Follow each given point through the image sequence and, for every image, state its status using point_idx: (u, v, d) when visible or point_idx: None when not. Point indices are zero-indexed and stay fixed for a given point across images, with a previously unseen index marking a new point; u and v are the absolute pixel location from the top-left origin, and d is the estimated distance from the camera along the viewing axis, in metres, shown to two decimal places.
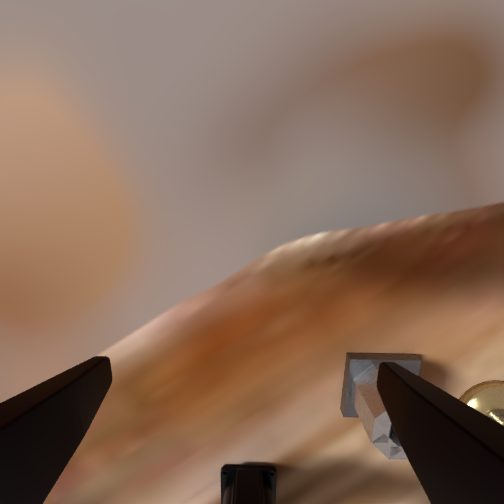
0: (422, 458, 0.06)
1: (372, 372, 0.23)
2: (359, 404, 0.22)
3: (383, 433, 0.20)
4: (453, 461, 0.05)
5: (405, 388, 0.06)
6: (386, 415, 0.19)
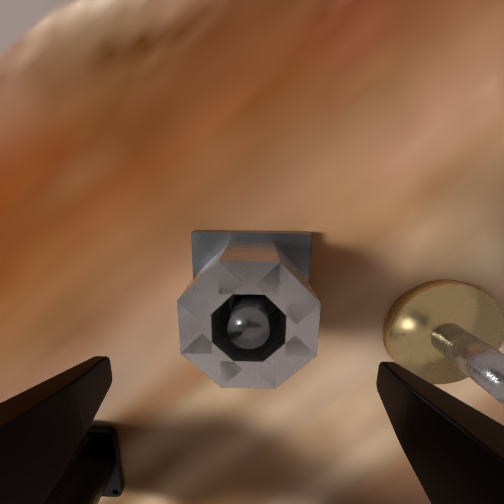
0: (422, 458, 0.06)
1: (222, 249, 0.13)
2: None
3: (200, 333, 0.10)
4: (453, 461, 0.05)
5: (405, 388, 0.06)
6: (198, 293, 0.10)
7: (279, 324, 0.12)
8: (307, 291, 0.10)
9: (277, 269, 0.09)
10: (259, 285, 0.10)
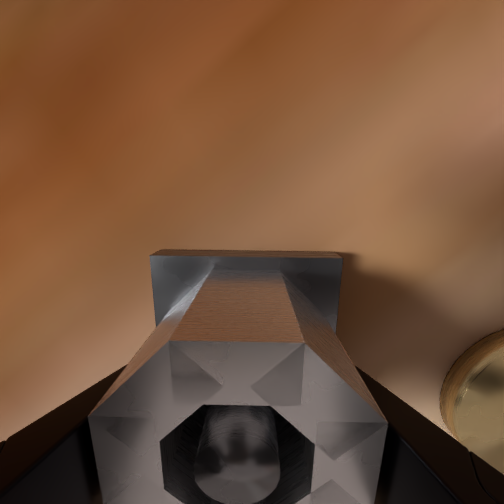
0: None
1: (198, 285, 0.08)
2: None
3: (139, 474, 0.05)
4: (385, 459, 0.05)
5: None
6: (131, 403, 0.05)
7: None
8: (361, 400, 0.05)
9: (298, 357, 0.04)
10: (259, 388, 0.04)
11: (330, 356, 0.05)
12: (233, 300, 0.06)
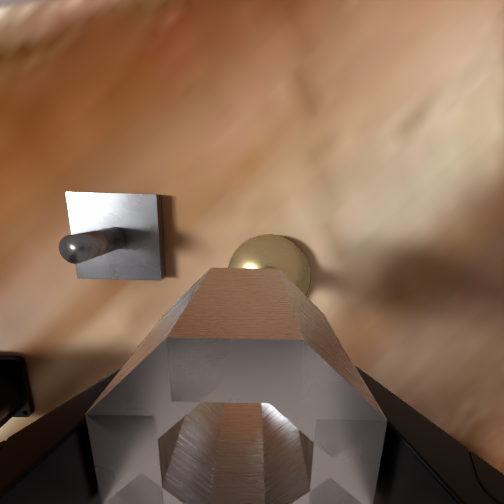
0: None
1: (197, 283, 0.08)
2: None
3: (137, 472, 0.05)
4: (385, 459, 0.05)
5: None
6: (129, 400, 0.05)
7: None
8: (360, 397, 0.04)
9: (297, 354, 0.04)
10: (257, 385, 0.04)
11: (329, 354, 0.05)
12: (232, 298, 0.06)
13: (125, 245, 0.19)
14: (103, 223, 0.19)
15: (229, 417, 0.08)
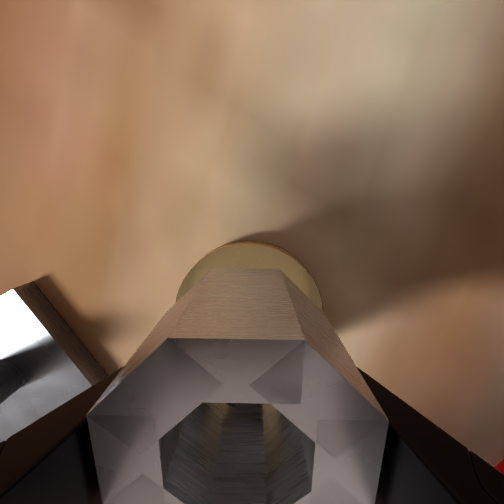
0: None
1: (197, 284, 0.08)
2: None
3: (138, 473, 0.05)
4: (385, 460, 0.05)
5: None
6: (130, 401, 0.05)
7: None
8: (361, 397, 0.04)
9: (298, 354, 0.04)
10: (259, 386, 0.04)
11: (330, 354, 0.05)
12: (233, 298, 0.06)
13: (26, 378, 0.12)
14: None
15: (230, 417, 0.08)
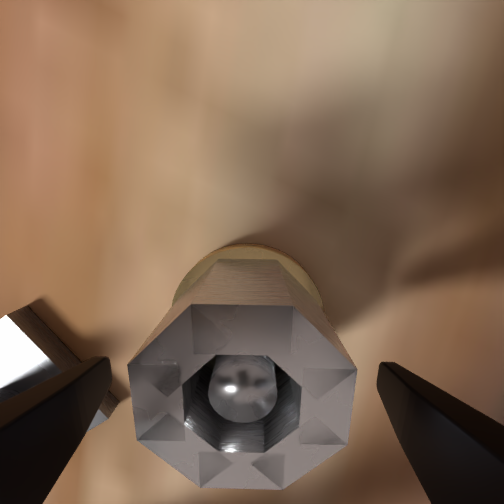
0: (422, 458, 0.06)
1: (207, 271, 0.09)
2: None
3: (165, 412, 0.06)
4: (453, 461, 0.05)
5: (405, 388, 0.06)
6: (161, 353, 0.06)
7: (287, 382, 0.08)
8: (336, 350, 0.06)
9: (288, 317, 0.06)
10: (258, 341, 0.06)
11: (314, 320, 0.06)
12: (238, 280, 0.07)
13: None
14: None
15: None
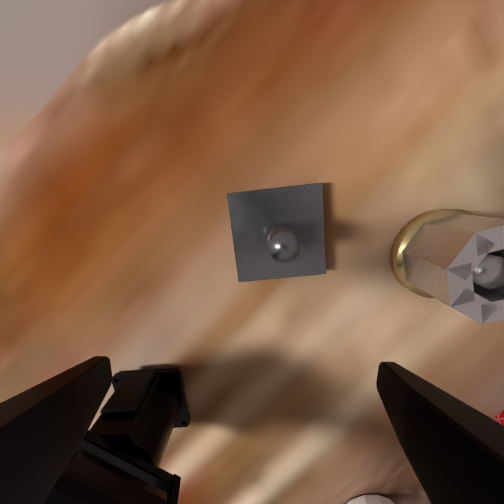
0: (422, 458, 0.06)
1: (458, 216, 0.17)
2: (428, 242, 0.16)
3: (470, 262, 0.14)
4: (453, 461, 0.05)
5: (405, 388, 0.06)
6: (492, 235, 0.13)
7: None
8: None
9: None
10: None
11: None
12: None
13: None
14: (266, 221, 0.18)
15: None
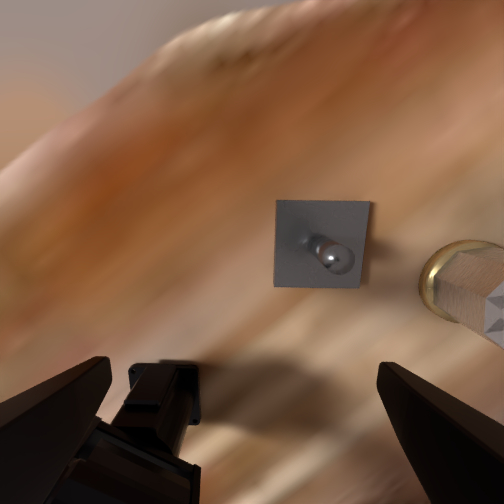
0: (422, 458, 0.06)
1: (491, 249, 0.18)
2: (464, 270, 0.17)
3: None
4: (453, 461, 0.05)
5: (405, 388, 0.06)
6: None
7: None
8: None
9: None
10: None
11: None
12: None
13: None
14: (310, 231, 0.18)
15: None
